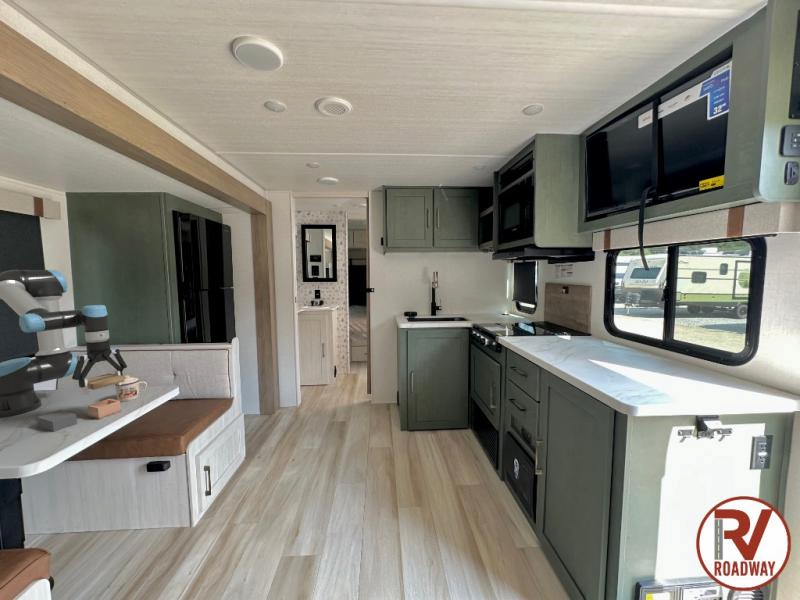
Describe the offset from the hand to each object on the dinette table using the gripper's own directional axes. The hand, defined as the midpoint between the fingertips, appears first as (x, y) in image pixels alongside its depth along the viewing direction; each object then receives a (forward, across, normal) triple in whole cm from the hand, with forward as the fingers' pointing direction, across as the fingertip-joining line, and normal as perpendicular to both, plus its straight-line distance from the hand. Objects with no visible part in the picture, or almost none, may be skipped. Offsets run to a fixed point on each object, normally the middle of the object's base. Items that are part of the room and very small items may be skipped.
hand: (102, 389), depth 139 cm
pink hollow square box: (+11, 0, 0) cm, 11 cm away
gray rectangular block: (+11, -13, +6) cm, 18 cm away
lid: (-2, 0, 0) cm, 2 cm away
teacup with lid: (+12, +16, +10) cm, 22 cm away
